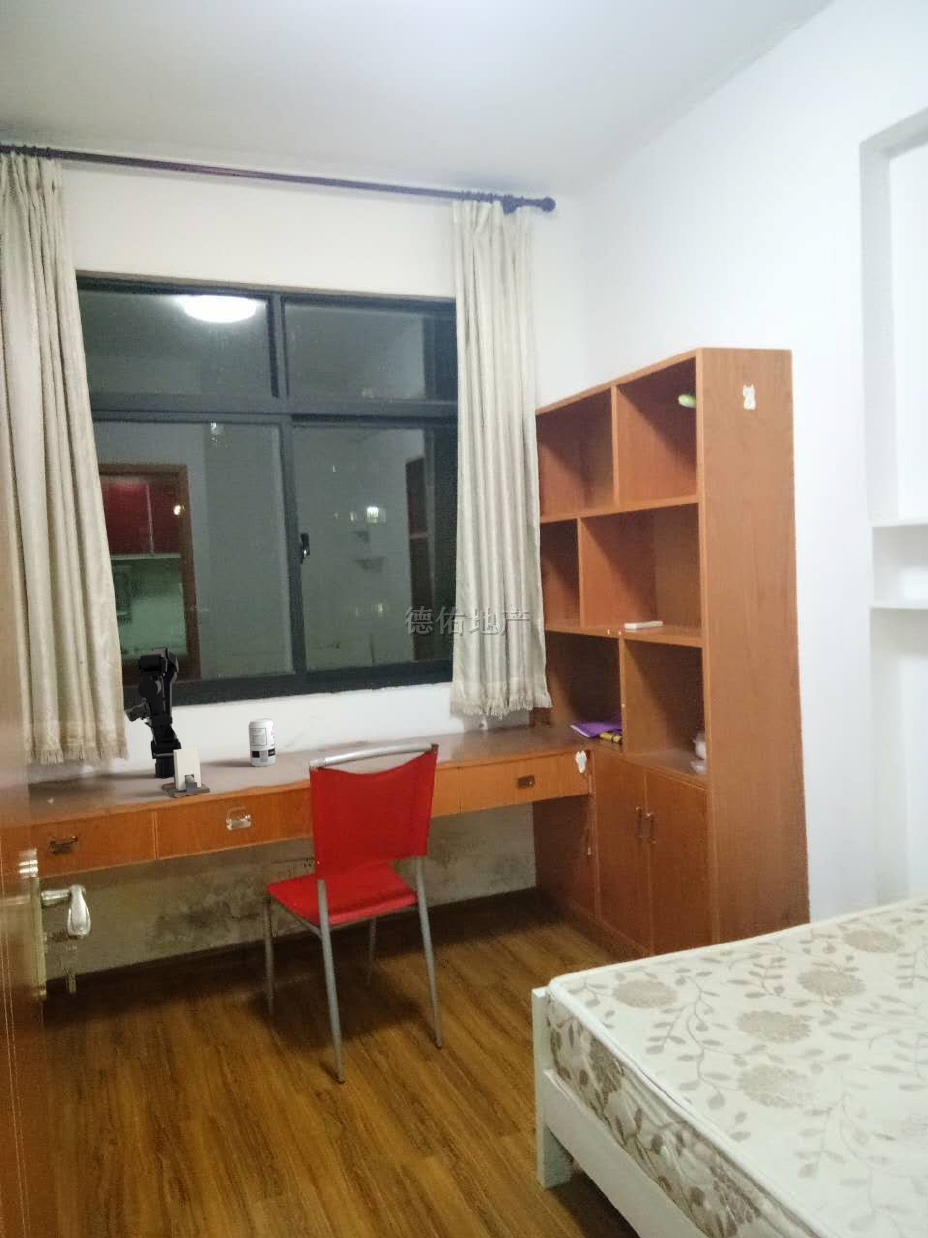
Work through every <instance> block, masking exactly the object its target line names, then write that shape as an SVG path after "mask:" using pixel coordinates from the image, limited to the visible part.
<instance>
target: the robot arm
mask: <svg viewBox="0 0 928 1238" xmlns="http://www.w3.org/2000/svg"><path fill="white" fill-rule="evenodd" d="M136 672H137V673H136V678H137V679H140V678H142V681H141V682H139V684H138V686H137V692H138V694H139V696H140V697H142V699H141V700H142V703H139V704H137V705H135V706H133V707H131V708H130V709H127V710H125V711H124V712H125V715H126V717H127V719H128V722H131V723H133V722H135V721H137V720H138V719H139V720H141V721H144V720H146V721H144V722H143V724H144V725H146V726H147V727H149V728H150V732H151V735H152V739H151V740H150V753H151V759H152V760H155V762H154V771H155V774H153V775H154V778H155V777H156V778H161V779H167V778H171V777H174V774H175V765H174V751H173V750H178V749H183V748H182V744H181V741H180V739H179V738H178V736H177V734H176V732H175V730H174V729H173V724H174V722H173V720H174V719H173V716H172V715H173V703H172V702H173V700H172V699H173V697H172V695H173V693H172V692H173V691H172V686H173V684H174V683H175V682H176V680H177V677H178V676H177V673H179V662H178V658H177V656H176V655H175V654H174V653H173V652H171V651H170V649H169V647H167V646H157V647H153V648H152V649H151V651H150V652H149V653H142V654H140V656H139V658H138V659H137V671H136Z"/></svg>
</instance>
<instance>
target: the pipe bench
mask: <svg viewBox="0 0 928 1238" xmlns="http://www.w3.org/2000/svg"><path fill="white" fill-rule="evenodd" d="M184 776H185V782H188V783H186V790H180V791H179V790H178V789H177V788H176V779H175V774H174V776H173V781H172V782H167V783H162V788H163V789H164V790H165V791H166V790H167V791H166V792H168V793H169V794H170V795H171V796H172V797H173V796H174V798H175V797H177V796H184V795H189V794H196V795H198V794H197V793H201V794H206V793H210V790H211V788H209V787H208V786H206V785H205V784H203V783H202V782H201V787H197V782H195V779H194V778H193V777H192V776H191V774H190V775H184ZM184 797H185V796H184Z"/></svg>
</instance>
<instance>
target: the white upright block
mask: <svg viewBox="0 0 928 1238" xmlns="http://www.w3.org/2000/svg"><path fill="white" fill-rule="evenodd" d="M173 751H174V765H175V779H176V788H177V789H178V790H179V791H180V790H186V783H188V782H185V776H184V775H191V776H192V777H193V778H194V779H195V782H197V787H201V783H202V779H201V764H200V763H201V762H200V749H199V748H198V747H196V746H194V747H187V748H186V747H185V748H182V749H178V750H173Z"/></svg>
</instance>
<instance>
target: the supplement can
mask: <svg viewBox="0 0 928 1238" xmlns="http://www.w3.org/2000/svg"><path fill="white" fill-rule="evenodd" d="M247 726H248V739H249V740H248V742H249V754H250V764H251V765H252V766H253V767H258V768H259V767H260V768H261V767H268V766H272V765H274V764H275V763H276V762H277V758H276V740H275V728H274V727H275V725H274V722H273V720H272V719H271V718H257V719H252V720H250V721H249V724H248V725H247Z"/></svg>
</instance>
